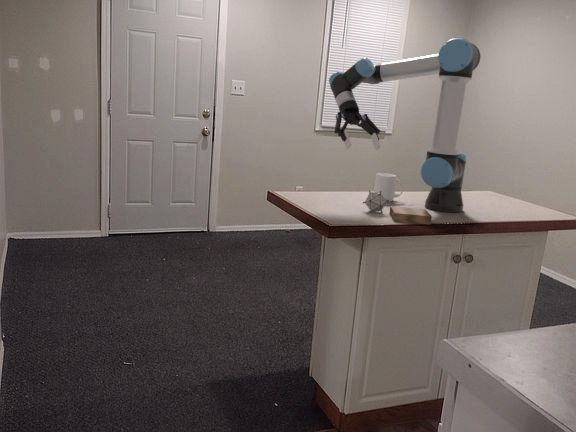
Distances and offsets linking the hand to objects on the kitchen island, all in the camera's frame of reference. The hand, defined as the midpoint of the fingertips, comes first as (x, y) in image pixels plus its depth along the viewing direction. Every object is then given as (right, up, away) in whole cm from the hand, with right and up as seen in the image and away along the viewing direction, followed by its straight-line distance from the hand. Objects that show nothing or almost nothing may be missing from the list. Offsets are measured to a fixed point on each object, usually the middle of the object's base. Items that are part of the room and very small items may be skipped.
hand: (363, 147), depth 204 cm
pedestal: (+15, -27, -12) cm, 33 cm away
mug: (+13, -20, +22) cm, 32 cm away
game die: (+3, -25, -4) cm, 26 cm away
